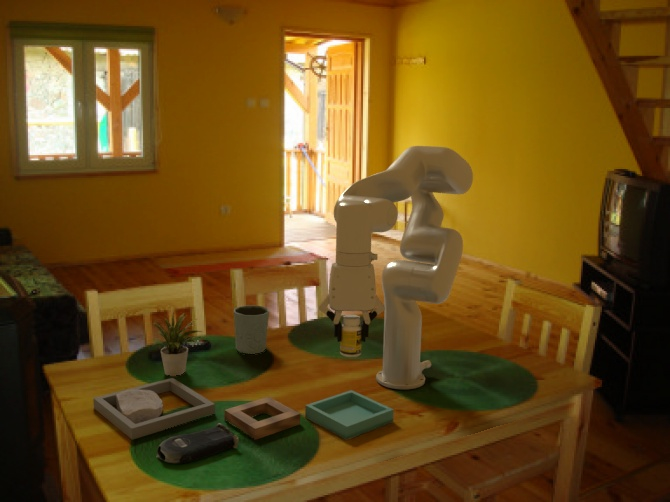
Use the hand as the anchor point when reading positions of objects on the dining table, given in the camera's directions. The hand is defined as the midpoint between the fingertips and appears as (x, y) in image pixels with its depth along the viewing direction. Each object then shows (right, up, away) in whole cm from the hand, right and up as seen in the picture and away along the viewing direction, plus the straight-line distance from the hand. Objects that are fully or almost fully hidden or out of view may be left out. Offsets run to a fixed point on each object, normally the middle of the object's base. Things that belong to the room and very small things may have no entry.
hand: (351, 339), depth 153 cm
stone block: (-48, -18, +5) cm, 51 cm away
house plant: (-46, -13, +28) cm, 56 cm away
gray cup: (-28, -9, +48) cm, 56 cm away
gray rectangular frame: (-45, -17, +6) cm, 48 cm away
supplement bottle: (0, -4, +1) cm, 4 cm away
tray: (0, -19, +4) cm, 19 cm away
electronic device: (-32, -22, -11) cm, 40 cm away
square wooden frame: (-20, -19, +2) cm, 27 cm away
